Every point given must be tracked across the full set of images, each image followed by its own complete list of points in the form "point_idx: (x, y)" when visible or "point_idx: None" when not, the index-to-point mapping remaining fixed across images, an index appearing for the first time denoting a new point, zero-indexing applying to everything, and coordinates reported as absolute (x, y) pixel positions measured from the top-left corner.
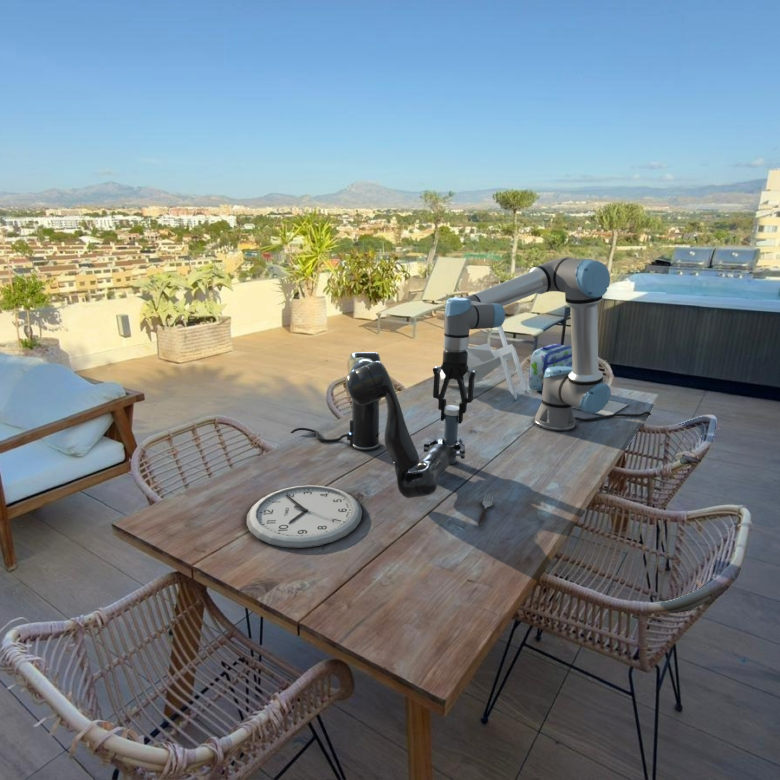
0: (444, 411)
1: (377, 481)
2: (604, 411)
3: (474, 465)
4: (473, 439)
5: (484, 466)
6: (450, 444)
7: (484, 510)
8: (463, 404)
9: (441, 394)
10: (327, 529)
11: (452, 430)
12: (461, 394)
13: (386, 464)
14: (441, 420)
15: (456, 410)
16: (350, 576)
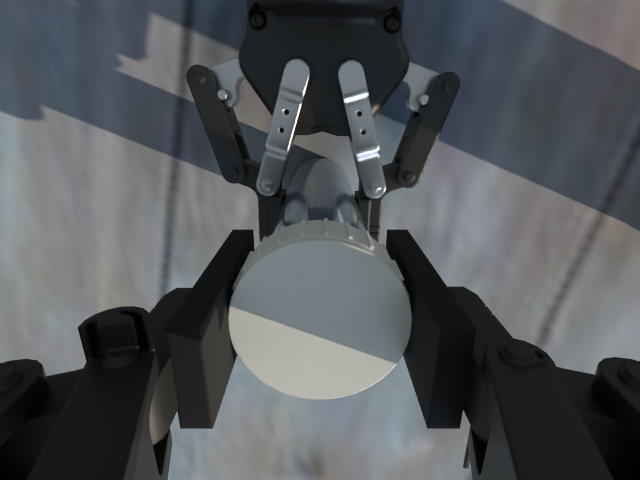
0: (393, 264)
1: None
2: None
3: (210, 192)
4: (289, 411)
5: (170, 199)
6: (293, 121)
7: None
8: (121, 310)
9: (544, 420)
10: None
11: (298, 199)
12: (93, 474)
13: (595, 29)
14: (400, 231)
15: (249, 266)
16: None
